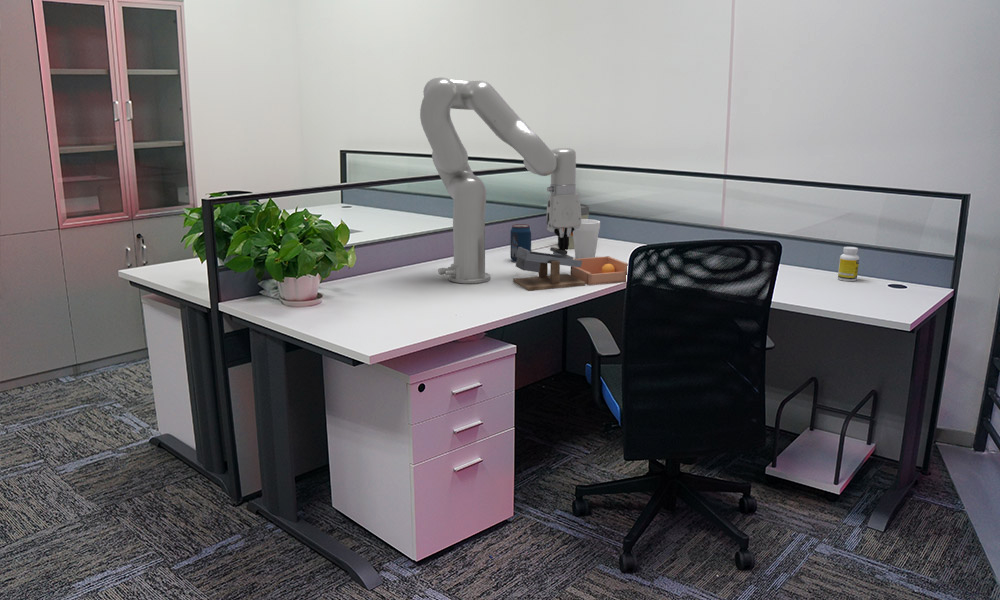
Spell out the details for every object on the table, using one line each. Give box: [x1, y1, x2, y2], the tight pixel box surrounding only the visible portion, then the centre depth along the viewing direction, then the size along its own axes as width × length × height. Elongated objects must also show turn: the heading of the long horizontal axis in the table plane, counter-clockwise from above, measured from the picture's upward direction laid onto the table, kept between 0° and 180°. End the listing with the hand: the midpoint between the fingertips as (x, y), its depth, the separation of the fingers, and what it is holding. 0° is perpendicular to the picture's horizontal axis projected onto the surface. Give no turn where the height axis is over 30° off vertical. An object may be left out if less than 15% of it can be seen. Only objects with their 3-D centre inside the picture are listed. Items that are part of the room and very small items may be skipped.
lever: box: [515, 246, 582, 273], centre depth 247 cm, size 18×15×6 cm
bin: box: [570, 255, 629, 286], centre depth 250 cm, size 13×12×6 cm
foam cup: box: [573, 218, 601, 259], centre depth 278 cm, size 10×9×13 cm
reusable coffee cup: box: [563, 203, 590, 250], centre depth 300 cm, size 12×13×15 cm
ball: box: [602, 264, 615, 273], centre depth 251 cm, size 4×4×4 cm
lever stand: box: [512, 261, 586, 292], centre depth 244 cm, size 18×12×8 cm, turn 111°
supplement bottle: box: [837, 246, 860, 282], centre depth 248 cm, size 5×5×10 cm
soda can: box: [509, 223, 532, 263], centre depth 276 cm, size 7×7×12 cm
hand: (563, 249), depth 255 cm, fingers closed
